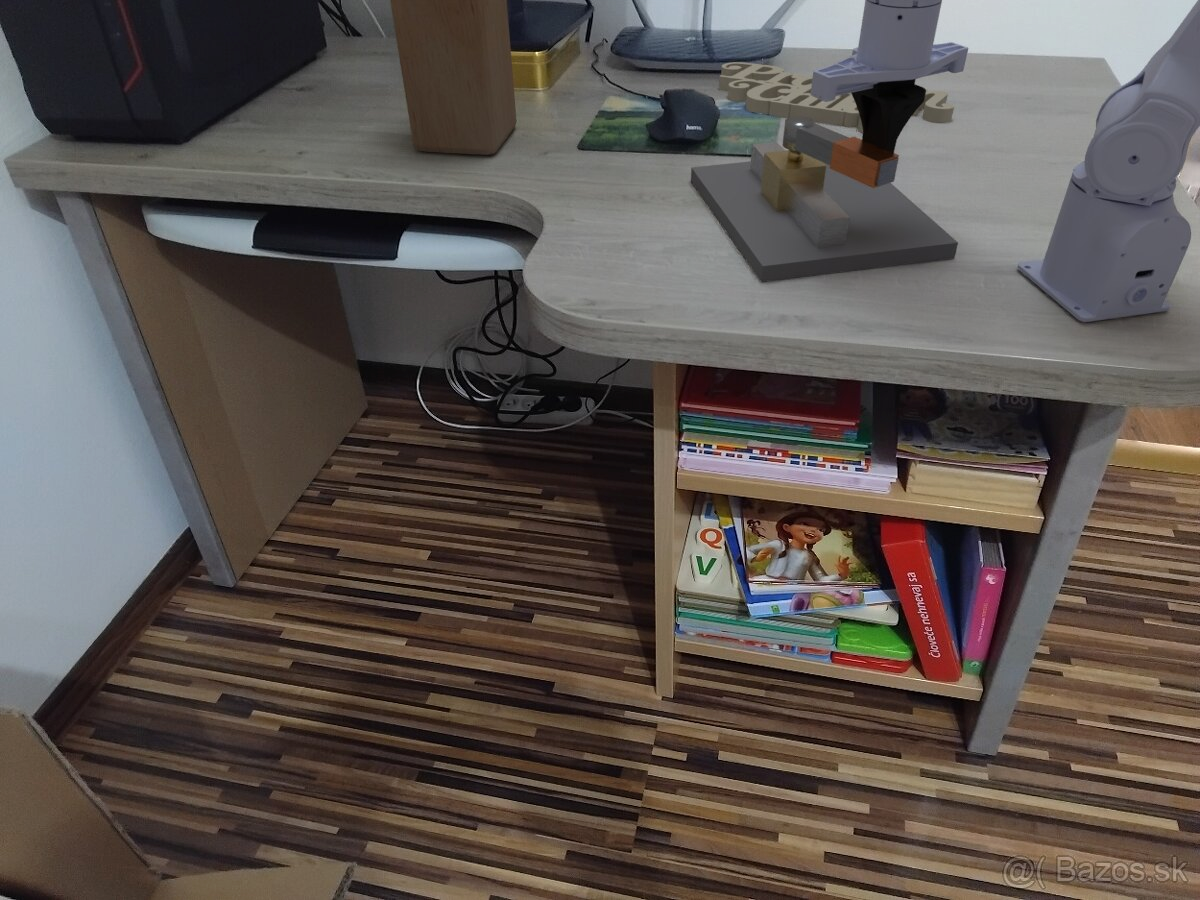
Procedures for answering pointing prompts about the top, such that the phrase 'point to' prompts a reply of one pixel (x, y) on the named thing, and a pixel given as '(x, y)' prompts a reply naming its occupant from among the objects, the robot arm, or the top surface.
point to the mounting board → (782, 250)
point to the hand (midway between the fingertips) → (873, 169)
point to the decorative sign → (806, 96)
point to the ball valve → (799, 192)
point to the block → (456, 73)
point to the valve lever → (841, 152)
